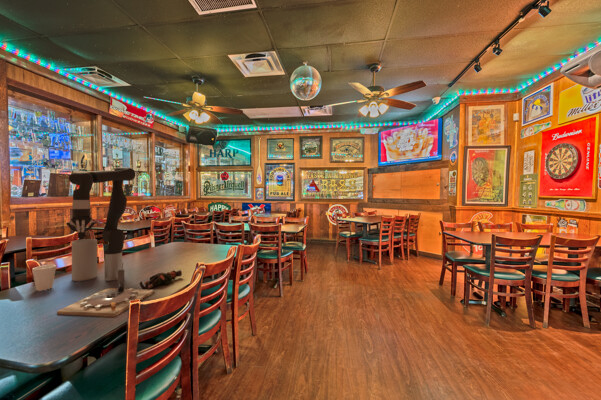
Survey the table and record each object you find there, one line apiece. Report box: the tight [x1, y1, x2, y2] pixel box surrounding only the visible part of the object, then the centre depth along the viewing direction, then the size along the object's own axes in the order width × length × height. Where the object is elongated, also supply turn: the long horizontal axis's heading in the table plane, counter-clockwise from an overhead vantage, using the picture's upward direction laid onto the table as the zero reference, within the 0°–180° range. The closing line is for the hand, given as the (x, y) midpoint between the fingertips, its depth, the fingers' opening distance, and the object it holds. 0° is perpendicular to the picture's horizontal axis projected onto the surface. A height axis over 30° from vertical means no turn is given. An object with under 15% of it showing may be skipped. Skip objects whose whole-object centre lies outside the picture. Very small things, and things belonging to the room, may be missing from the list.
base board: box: [56, 287, 155, 318], centre depth 126 cm, size 28×28×3 cm
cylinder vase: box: [71, 238, 98, 282], centre depth 160 cm, size 12×12×25 cm
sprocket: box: [80, 269, 138, 310], centre depth 126 cm, size 24×24×12 cm
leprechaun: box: [139, 269, 183, 290], centre depth 153 cm, size 11×10×25 cm
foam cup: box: [31, 264, 57, 292], centre depth 142 cm, size 10×9×13 cm
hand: (81, 238), depth 136 cm, fingers closed
